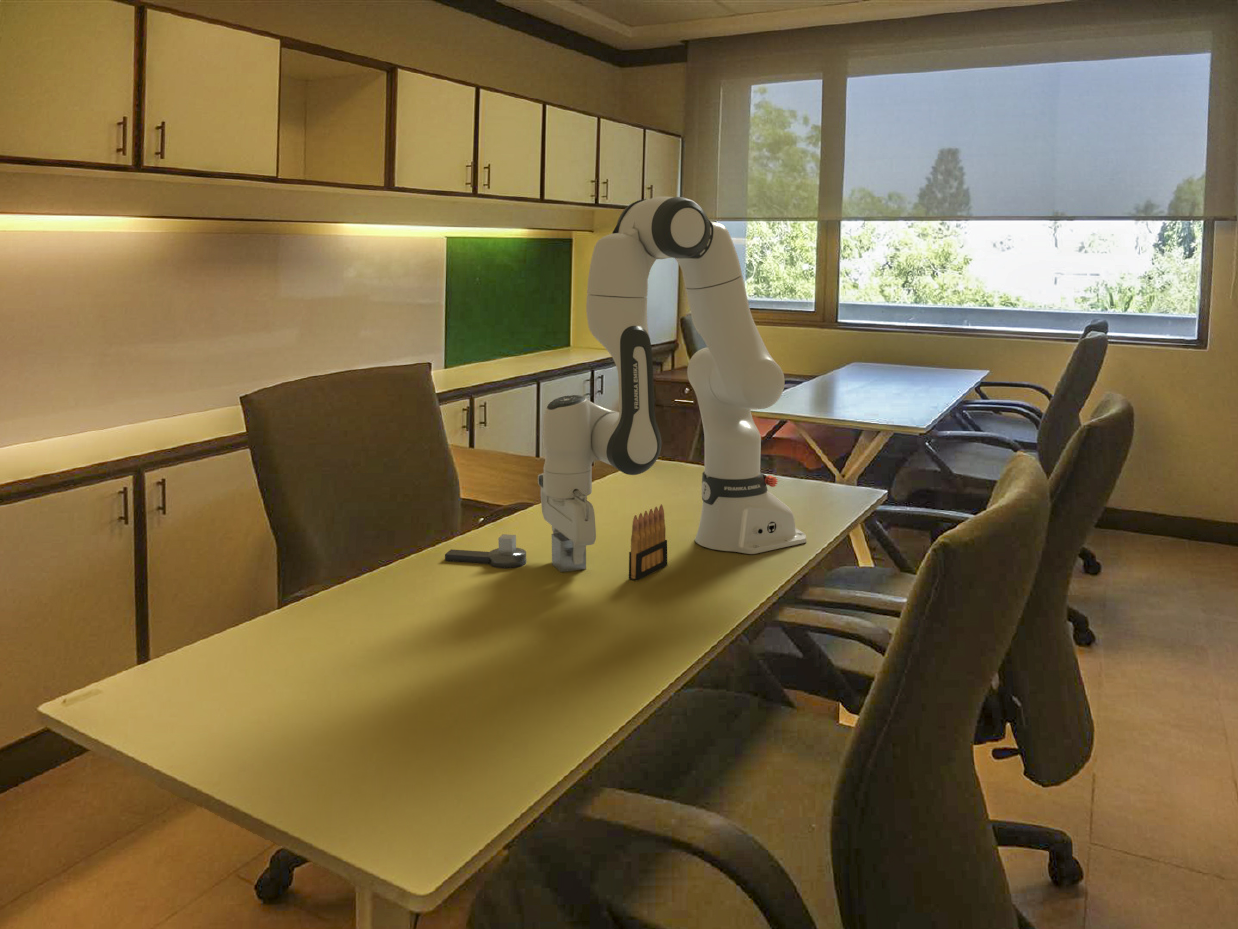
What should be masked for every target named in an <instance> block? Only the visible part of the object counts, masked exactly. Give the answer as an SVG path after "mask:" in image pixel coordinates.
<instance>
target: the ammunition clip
mask: <svg viewBox="0 0 1238 929" xmlns="http://www.w3.org/2000/svg"><path fill="white" fill-rule="evenodd" d="M632 519H633V520H632V524H631V525H632V526H631V527H632V529H631V537H630V551H629V552H628V555H629V556H628V557H629V558H628V579H629V580H632V581H637V582H638V581H640V580H642V579H644V578H646V577H648V576H650V575H651V574H654V573H656V572H658V571H659V570H660V571H661V570H662V569H664V568H666V567H668V540H667V539H666V523H665V522H666V521H665V510H664V506H663V504H660V505H659V508H658V506H655V507H654V508H653V509H652V508H650V509H649V510H648V511H647V510H645V511H644V514H643V513H642V512H640V513H639V515H638V516H637V515H634V516H633V518H632Z"/></svg>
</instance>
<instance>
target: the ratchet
mask: <svg viewBox="0 0 1238 929" xmlns="http://www.w3.org/2000/svg"><path fill="white" fill-rule="evenodd" d="M444 561H445V562H450V563H465V564H479V565H489V566H491V567H492V568H496V569H503V570H505V569H509V570H510V569H516V568H520V567H523V566H525V565H526V564H527V551H526V550H525V549H523V548H521V547H520V548H519V547H517V535H516V534H502V535H500V536H499V537H498V548H495V549H492V550H490V551H483V550H482V551H480V550H479V551H478V550H467V549H466V550H465V549H449V550H448V551H447V552H446V553H444Z"/></svg>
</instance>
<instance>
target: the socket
mask: <svg viewBox="0 0 1238 929" xmlns="http://www.w3.org/2000/svg"><path fill="white" fill-rule="evenodd" d="M573 550H574V547H573V542H572V541H571V540H569V539H568V538H567V537H566V536H564V535H563V534H562V533H555V534H553V533H551V565H552V566H553V567H555V569H557V570H558V571H559V572H560V573H565V572H573V571H580V570H586V569H587V547H586V548H585V551H584V554H583V563H582V564H574V563H573V562H572V553H573Z"/></svg>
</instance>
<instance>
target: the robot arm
mask: <svg viewBox="0 0 1238 929" xmlns="http://www.w3.org/2000/svg"><path fill="white" fill-rule="evenodd" d="M732 239H733V238H732V237H731V234H730V232H729V230H728V229H727V227H726V226H725V225H724V224H722V223H720V222H717V221H711V220H709V218H708V216H707V213H706V212H705V210H704V209H703V208H702V207H701V206H700V205H699V204H698V203H697V202H695V201H694V200H692V199H690V198H686V197H683V196H675V197H673V196H656V197H651V198H649V199H646V198H645V199H639V200H637V201H634V202H632V203H630V204H629V205H628V206H627V207H625V208H624V209H623V211H622V212H621V214H619V217H618V220H617V222H616V226H615V227H614V229H613V230H612V233H610V234H607V235H604V236H602V237H601V238H600V239H598V240H597V242H596V243H595V245H594V248H593V251H592V255H591V259H590V264H589V271H588V278H587V285H586V286H587V289H586V303H585V304H586V305H585V306H586V318H587V325H588V329H589V332H590V333H591V335H592V336H593V338H595V340H596V341H597V342H598V343H599V344H601V345H602V346H603V348H605V350H606V351H607V352H608V353H609V355H610V356H611V357H612V359H613V362H614V364H615V365H616V371H617V376H618V380H617V381H618V405H619V407H618V408H619V410H618V411H617V410H612V409H609V408H605V407H602V406H601V405H598V404H596V403H595V402H592V401H591V400H589V399H588V398H587V397H586V396H583V395H580V394H572V395H564V396H560V397H557V398H555V399H553V400H552V401H549V403H548V404H547V406H546V408H545V413H544V418H543V430H542V433H543V435H542V442H543V443H542V444H543V450H544V454H545V460H544V463H543V472H542V473H539V474H538V475H537V485H538V486H539V487H540V502H541V503H540V504H541V512H542V516H543V519H544V521H546V523H548V524H549V525H550V526H551V531H552V534H555V533H562V534H563V535H564V536H566V537H567V538H568V539H569V540H571V541H572V542H573V547H574V550H573V553H572V562H573V563H574V564H582V563H583V554H584V551H585V548H586V549H587V546H591V545H592V546H593V545H595V542H596V541H597V540H596V539H597V529H596V515H595V514H596V513H595V509H594V505H593V504H592V502H590V501H588V496H590V495H592V492H593V484H592V483H593V481H592V477H593V476H592V472H593V471H592V466H593V463H594V462H596V461H601V462H603V463H604V464H607V465H610V466H612V467H613V468H615V469H616V470H618V471H620V472H621V473H622V474H625V475H630V476H637V475H641V474H643V473H646V471H649V470H650V469H651V468H652V467H653V466H654V464H656V462H657V460H658V458H659V456H660V454H661V450H662V436H661V433H660V429H659V427H658V423H657V420H656V413H655V393H654V392H655V389H654V364H653V363H654V361H653V359H654V358H653V349H652V343H651V338H650V335H649V327H648V291H649V290H648V289H649V287H648V286H649V284H648V282H649V280H648V279H649V275H650V272H651V269H652V267H653V265H654V264H655V262H656V261H657V260H665V259H670V258H671V259H672V258H673V259H675V261H676V262H677V263H678V265H679V267H680V270H681V273H682V278H683V279H682V280H683V284H684V289H685V292H686V297H687V302H688V303H687V304H688V306H689V311H690V316H691V320H692V324H693V326H694V329H695V330H696V332H697V334H698V335H699V336H701V338H702V340H703V341H704V343H705V346H706V347H703V348H701V349H699V350H697V351H696V352H695V353H694V354H693V355H692V356H691V358H690V360H689V362H688V364H687V373H686V374H687V378H688V379H687V380H688V382H689V384H690V385H691V387H692V389H693V390H694V394H695V396H696V400H697V404H698V407H699V413H700V417H701V421H702V422H701V423H702V427H703V434H704V435H703V437H704V471H703V472H702V473H701V474H702V477H701V501H702V506H701V515H700V520H699V523H698V525H699V526H698V529H697V532H696V535H695V539H694V540H695V543H696V544H698V545H700V546H702V547H705V548H707V549H710V550H716V551H722V552H723V551H724V552H734V553H736V552H737V553H742V554H747V555H756V554H759V553H760V554H761V553H765V552H768V551H774V550H777V549H782V548H786V547H787V548H788V547H791V546H797V545H800V544H804V543H806V542H807V535H806V534H805V533H804V532H803V531H801V530H800V529H798V528H797V527H796V522H795V516H794V513H793V511H792V508H790V507H789V506H788V505H787V504H785V502H783V501H782V500H780V499H779V498H778V497H776V496H775V495H774V494H773V493H771V492H770V491H768V487H767V486H769V487H771V488H774V487H776V486H777V485H778V482H779V481H778V479H777V477H776V476H772V475H766V474H764V473H762V472H761V448H762V446H761V445H762V443H761V442H762V437H761V434H760V431H759V429H758V427H757V426H756V424H755V420H754V418H753V415H752V412H751V410H763V409H769V408H770V407H772V406H773V405H775V404H776V403H777V402H778V401H779V399H780V398H781V397H782V394H783V392H784V390H785V389H784V388H785V385H786V384H785V381H786V380H785V374H784V371H783V369H782V368H781V366H780V365H779V364H778V363H777V362H776V361H775V359H774V358H773V357H772V355H771V354H770V352H769V350H768V348H767V346H766V345H765V342H764V341H763V340H764V339H763V338H762V336H761V334H760V332H759V329H758V327H757V325H756V323H755V320H754V317H753V315H752V312H751V308H750V304H749V300H748V295H747V291H746V286H745V282H744V278H743V277H744V276H743V271H742V268H741V263H740V259H739V257H738V254H737V250H736V248H735V245H734V242H733V240H732Z"/></svg>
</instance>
